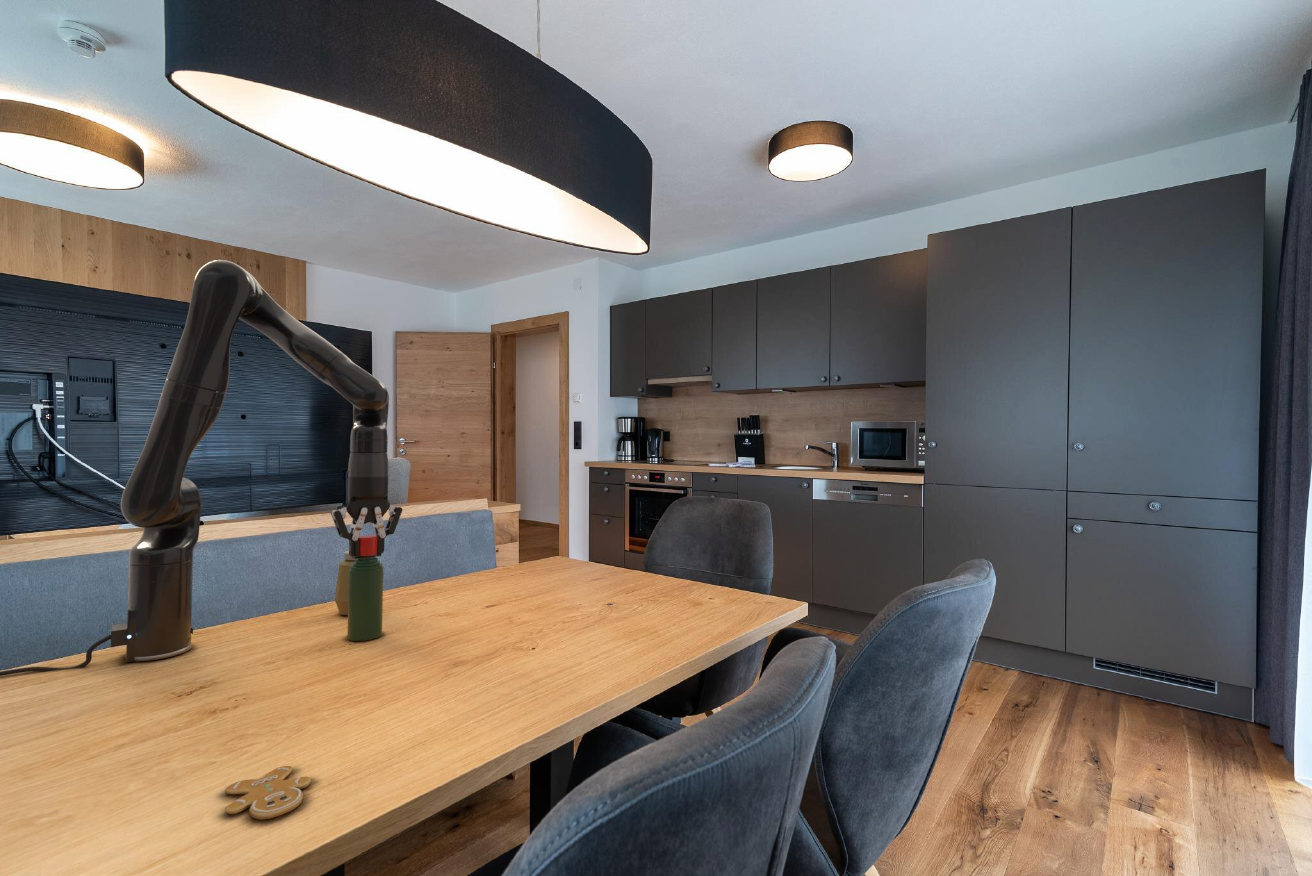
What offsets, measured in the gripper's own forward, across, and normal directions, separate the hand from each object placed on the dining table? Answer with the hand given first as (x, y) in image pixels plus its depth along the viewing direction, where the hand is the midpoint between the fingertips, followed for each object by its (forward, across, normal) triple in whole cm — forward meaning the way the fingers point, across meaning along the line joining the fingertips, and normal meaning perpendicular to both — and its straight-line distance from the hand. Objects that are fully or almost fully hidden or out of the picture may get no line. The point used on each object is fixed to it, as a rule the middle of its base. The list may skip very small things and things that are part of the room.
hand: (366, 556), depth 121 cm
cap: (0, 0, 0) cm, 0 cm away
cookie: (+17, -26, -51) cm, 60 cm away
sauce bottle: (+16, 0, 0) cm, 16 cm away
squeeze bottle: (+16, +4, +20) cm, 26 cm away
